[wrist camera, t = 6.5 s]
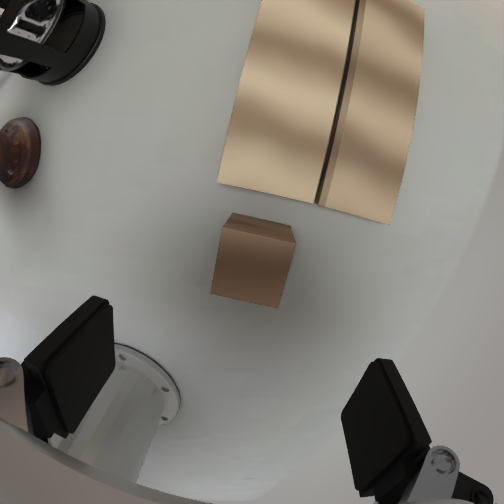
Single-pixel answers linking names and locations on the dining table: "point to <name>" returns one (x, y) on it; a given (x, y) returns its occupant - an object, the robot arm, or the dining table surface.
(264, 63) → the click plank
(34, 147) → the mortar and pestle
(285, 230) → the walnut block
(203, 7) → the dining table surface
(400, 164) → the laid board
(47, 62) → the french press
